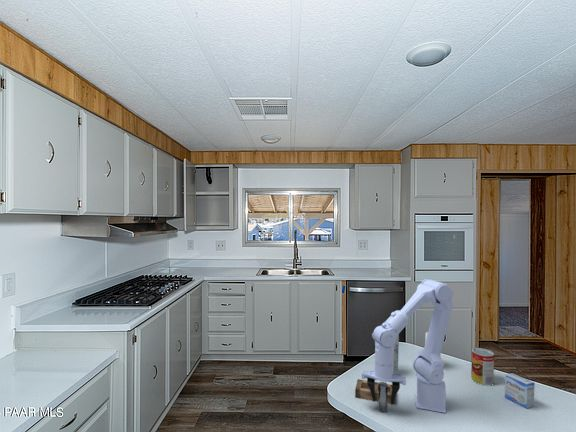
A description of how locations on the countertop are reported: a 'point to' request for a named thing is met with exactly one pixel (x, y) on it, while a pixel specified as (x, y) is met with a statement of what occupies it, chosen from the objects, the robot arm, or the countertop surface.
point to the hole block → (365, 393)
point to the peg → (383, 397)
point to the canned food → (482, 366)
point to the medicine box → (519, 390)
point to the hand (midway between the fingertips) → (383, 401)
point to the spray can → (395, 356)
